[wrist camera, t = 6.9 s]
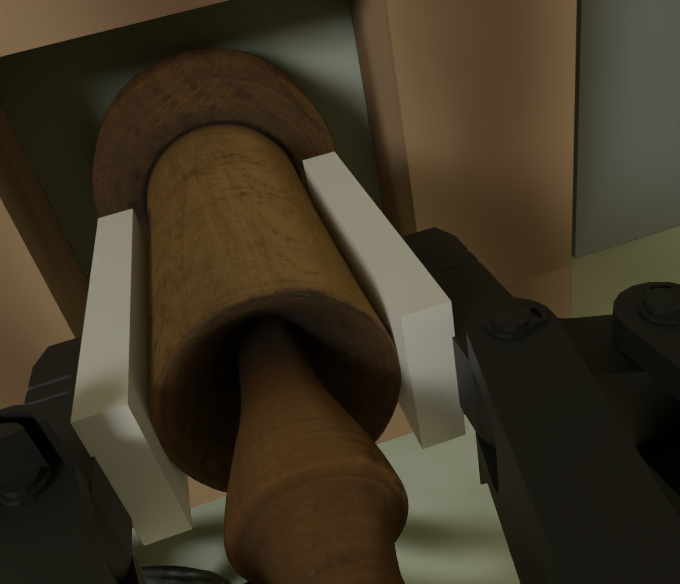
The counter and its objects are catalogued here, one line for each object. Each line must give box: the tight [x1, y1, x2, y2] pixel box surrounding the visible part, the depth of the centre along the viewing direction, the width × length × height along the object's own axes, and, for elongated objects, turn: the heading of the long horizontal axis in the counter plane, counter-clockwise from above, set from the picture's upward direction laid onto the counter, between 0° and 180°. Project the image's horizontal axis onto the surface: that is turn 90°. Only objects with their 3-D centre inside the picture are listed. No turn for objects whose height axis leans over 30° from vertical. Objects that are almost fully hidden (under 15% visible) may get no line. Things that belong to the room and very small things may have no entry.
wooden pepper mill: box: [92, 48, 408, 584], centre depth 11 cm, size 7×6×18 cm
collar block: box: [0, 0, 577, 528], centre depth 18 cm, size 20×20×4 cm
